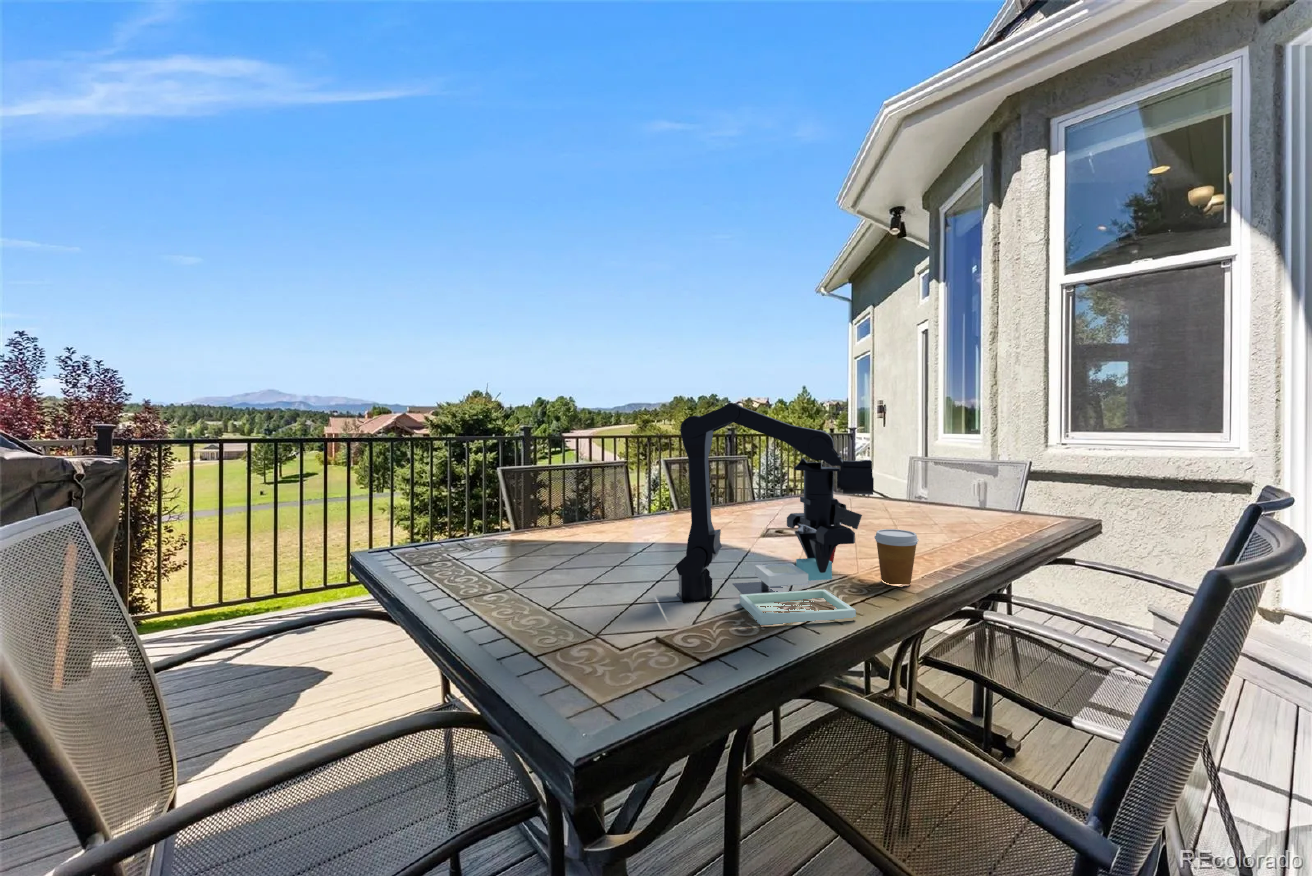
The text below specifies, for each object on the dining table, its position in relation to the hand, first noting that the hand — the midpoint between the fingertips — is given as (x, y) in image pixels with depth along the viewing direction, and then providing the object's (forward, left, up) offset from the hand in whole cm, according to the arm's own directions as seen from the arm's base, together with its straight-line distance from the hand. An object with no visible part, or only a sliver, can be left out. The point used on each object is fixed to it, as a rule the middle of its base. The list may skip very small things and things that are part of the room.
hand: (818, 570), depth 111 cm
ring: (-5, 0, -1) cm, 5 cm away
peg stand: (-6, +14, -8) cm, 17 cm away
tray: (-5, 0, -8) cm, 10 cm away
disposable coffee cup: (+26, +14, -9) cm, 31 cm away
